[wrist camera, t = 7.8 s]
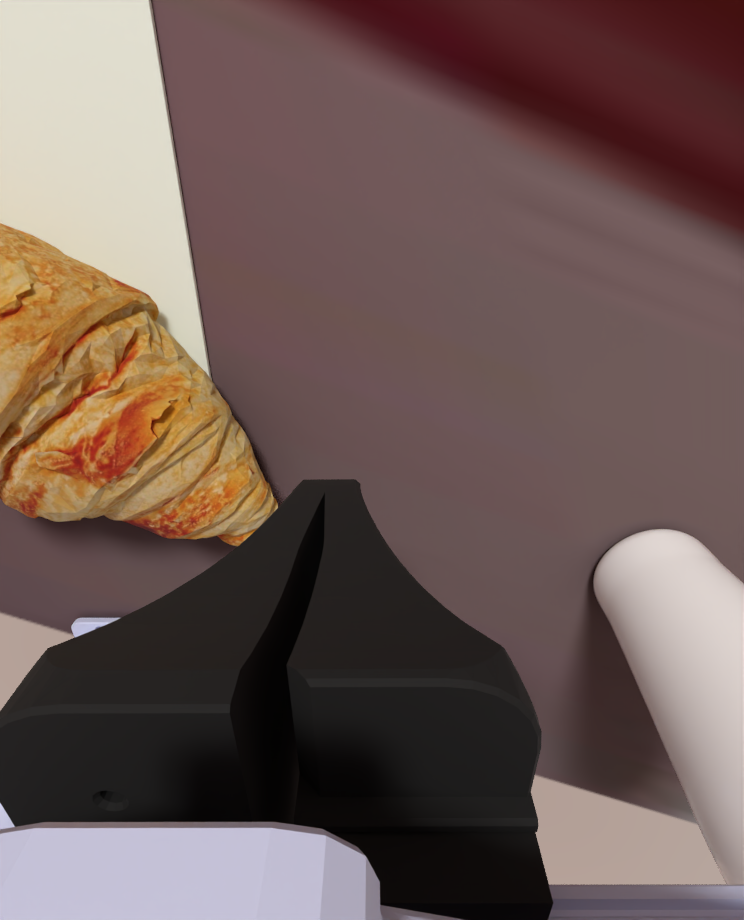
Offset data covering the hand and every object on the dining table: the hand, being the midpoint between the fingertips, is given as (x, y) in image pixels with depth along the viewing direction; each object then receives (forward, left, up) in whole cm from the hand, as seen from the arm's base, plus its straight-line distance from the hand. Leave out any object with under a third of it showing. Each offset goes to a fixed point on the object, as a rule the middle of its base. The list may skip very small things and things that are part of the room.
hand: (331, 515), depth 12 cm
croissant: (-11, +1, -9) cm, 15 cm away
